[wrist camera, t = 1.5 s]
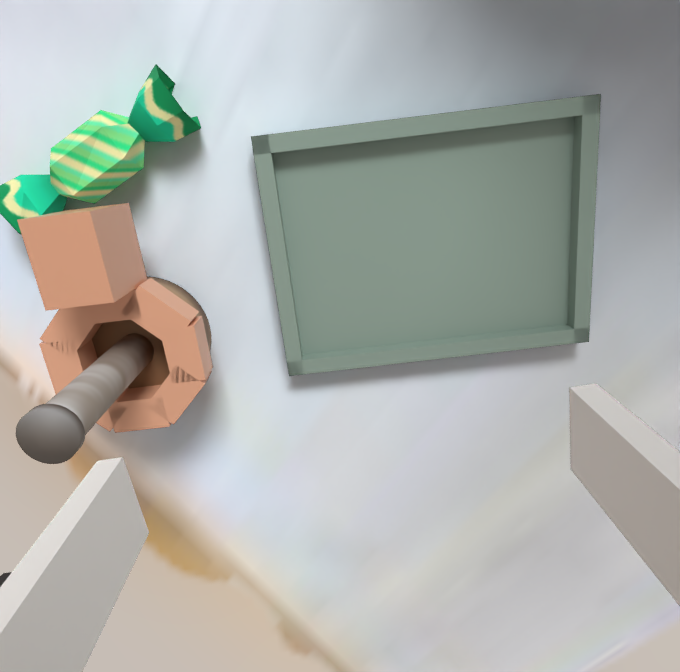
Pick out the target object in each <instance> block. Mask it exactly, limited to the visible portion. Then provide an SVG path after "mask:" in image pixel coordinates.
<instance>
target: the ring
mask: <svg viewBox="0 0 680 672" xmlns="http://www.w3.org/2000/svg"><path fill="white" fill-rule="evenodd" d="M17 221H18V224H19V228H20V231H21V234H22V237H23V240H24V243H25V247H26V250H27V253H28V256H29V259H30V262H31V266H32V269H33V272H34V275H35V278H36V281H37V285H38V288H39V291H40V294H41V297H42V300H43V304H44V307H45V310H54V309H59V310H58V312H57V313H56V315H55V316H54V318H53V319H52V321H51V322H50V324H49V326H48V327H47V329H46V330H45V332H44V333H43V335H42V336H41V338H40V339H41V340H42V341H43V342H41V343H40V347H41V350H42V354H43V357H44V360H45V363H46V366H47V369H48V372H49V375H50V378H51V381H52V384H53V387H54V390H55V393H56V394H58V393H59V392H60V391H61V390H62V389H63V388H64V387H66V386H67V385H68V384H69V383H70V382H71V381H73V380H74V379H75V378H76V377H77V376H78V375H80V374H81V373H82V372H83V371H84V370H85V369H87V368H88V367H89V366H90V365H91V364H92V363H94V362H95V361H96V360H97V359H98V358H97V355H96V352H95V348H94V345H93V341H92V338H93V337H94V335H95V334H96V332H97V331H98V329H99V328H100V326H101V325H102V323H105V322H114V321H122V320H132V321H134V322H135V323H137V324H138V325H140V326H141V327H143V328H144V329H146V330H147V331H148V332H150V333H151V334H153V335H154V336H156V337H157V338H159V339H160V340H162V343H163V347H164V351H165V355H166V359H167V363H168V367H169V371H170V374H169V375H168V377H167V378H166V379H165V381H164V382H163V383H162V385H154V386H146V387H137V388H128V387H127V388H126V389H125V391H124V392H123V393H122V394H121V395H120V396H119V397H118V398H117V400H116V401H115V402H114V403H113V404H112V405H111V406H110V407H109V409H108V410H107V411H106V412H105V413H104V414H103V415H102V417H101V418H100V419H99V420H98V421H97V422H96V423H97V424H98V425H100V426H102V427H103V428H105V429H107V430H108V431H111V430H112V429H113V428H114V431H115V433H117V432H126V431H135V430H144V429H153V428H161V427H170V425H171V423H172V424H174V423H175V422H176V421H177V420H178V418H179V417H180V416H181V414H182V413H183V412H184V410H185V409H186V408H187V407H188V405H189V404H190V403H191V401H192V400H193V399H194V398H195V396H196V395H197V394H198V392H199V391H200V390H201V388H202V387H203V386H204V385H205V383H206V381H207V379H208V377H209V376H210V374H211V372H212V371H211V369H212V368H213V365H212V361H211V356H210V351H209V346H208V342H207V337H206V332H205V328H204V323H203V318H202V316H196V315H197V314H198V313H199V311H198V310H196V309H195V308H193V307H192V306H190V305H189V304H188V303H186V302H185V301H183V300H182V299H181V298H179V297H178V296H176V295H175V294H173V293H172V292H171V291H169V290H168V289H166V288H165V287H163V286H162V285H161V284H159V283H158V282H156V281H155V280H154V279H152V278H150V279H148V280H147V276H146V272H145V267H144V263H143V259H142V255H141V251H140V247H139V243H138V239H137V235H136V230H135V226H134V222H133V218H132V214H131V210H130V206H129V203H123V204H115V205H107V206H98V207H90V208H82V209H74V210H66V211H61V212H56V213H50V214H45V215H40V216H35V217H29V218H24V219H19V220H17Z"/></svg>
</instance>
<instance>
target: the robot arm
mask: <svg viewBox="0 0 680 672" xmlns="http://www.w3.org/2000/svg"><path fill="white" fill-rule="evenodd" d="M569 402H570V464H571V470H572V471H573V473H574V474H575V475H576V476H577V478H578V479H579V480H580V481H581V483H582V484H583V485H584V486H585V488H586V489H587V490H588V492H589V493H590V494H591V495H592V497H593V498H594V499H595V500H596V502H597V503H598V504H599V505H600V507H601V508H602V509H603V510H604V512H605V513H606V514H607V515H608V517H609V518H610V519H611V520H612V522H613V523H614V524H615V525H616V527H617V528H618V529H619V530H620V532H621V533H622V534H623V535H624V537H625V538H626V539H627V540H628V542H629V543H630V544H631V546H632V547H633V548H634V549H635V551H636V552H637V553H638V554H639V556H640V557H641V558H642V559H643V561H644V562H645V563H646V564H647V566H648V567H649V568H650V569H651V571H652V572H653V573H654V574H655V576H656V577H657V578H658V579H659V581H660V582H661V583H662V584H663V586H664V587H665V588H666V589H667V591H668V592H669V593H670V594H671V596H672V597H673V598H674V600H675V601H676V602H677V603H678V605H679V606H680V451H678V450H677V449H676V448H675V447H673V446H672V445H671V444H670V443H669V442H667V441H666V440H665V439H664V438H662V437H661V436H660V435H659V434H658V433H656V432H655V431H654V430H653V429H651V428H650V427H649V426H648V425H647V424H645V423H644V422H643V421H642V420H640V419H639V418H638V417H637V416H636V415H634V414H633V413H632V412H631V411H629V410H628V409H627V408H626V407H625V406H623V405H622V404H621V403H620V402H618V401H617V400H616V399H615V398H614V397H612V396H611V395H610V394H609V393H607V392H606V391H605V390H604V389H603V388H601V387H600V386H599V385H598V384H596V383H594V384H587V385H581V386H574V387H569ZM148 534H149V531H148V528H147V526H146V523H145V520H144V517H143V514H142V511H141V508H140V505H139V502H138V500H137V497H136V494H135V491H134V488H133V485H132V482H131V479H130V477H129V474H128V471H127V468H126V465H125V462H124V459H123V457H120V458H113V459H107V460H101V461H97V462H96V463H95V465H94V466H93V467H92V469H91V470H90V471H89V473H88V474H87V475H86V476H85V478H84V479H83V480H82V482H81V483H80V484H79V486H78V487H77V488H76V489H75V491H74V492H73V493H72V495H71V496H70V497H69V499H68V500H67V501H66V502H65V504H64V505H63V506H62V508H61V509H60V510H59V512H58V513H57V514H56V516H55V517H54V518H53V519H52V521H51V522H50V523H49V525H48V526H47V527H46V529H45V530H44V531H43V532H42V534H41V535H40V536H39V538H38V539H37V540H36V542H35V543H34V544H33V545H32V547H31V548H30V549H29V551H28V552H27V553H26V555H25V556H24V557H23V559H22V560H21V561H20V562H19V564H18V565H17V566H16V568H15V569H14V570H13V571H12V572H10V573H4V574H2V575H1V576H0V672H83V669H84V667H85V665H86V663H87V661H88V659H89V657H90V655H91V653H92V651H93V648H94V647H95V644H96V642H97V640H98V638H99V636H100V634H101V632H102V630H103V628H104V626H105V624H106V621H107V620H108V617H109V615H110V613H111V611H112V609H113V607H114V605H115V603H116V601H117V599H118V596H119V594H120V592H121V590H122V588H123V586H124V584H125V582H126V580H127V578H128V576H129V574H130V572H131V569H132V567H133V565H134V563H135V561H136V559H137V557H138V555H139V553H140V551H141V549H142V547H143V544H144V542H145V540H146V538H147V536H148Z"/></svg>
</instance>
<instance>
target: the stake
mask: <svg viewBox="0 0 680 672" xmlns="http://www.w3.org/2000/svg"><path fill="white" fill-rule="evenodd" d="M150 278H152V279H154V280H155V281H156V282H158V283H159V284H161V285H162V286H163V287H165V288H166V289H168V290H169V291H171V292H172V293H173V294H175V295H176V296H178V297H179V298H181V299H182V300H183V301H185V302H186V303H188V304H189V305H190V306H192V307H193V308H195V309H196V310H198V311H199V313H198V314H197V315H196V316H202V318H203V323H204V328H205V332H206V337H207V342H208V346H209V351H210V346H211V331H210V326H209V322H208V319H207V317H206V314H205V313H204V311H203V309H202V307H201V306H200V305H199V303H198V302H197V301H196V300H195V299H194V298H193V297H192V295H191V294H189V293H188V292H187V291H186V290H184V289H183V288H181V287H180V286H178V285H176V284H174V283H172V282H170V281H167V280H164V279H160V278H155V277H147V280H148V279H150ZM92 341H93V345H94V348H95V352H96V355H97V358H98V359H97V360H96V361H95V362H94V363H92V364H91V365H90V366H89V367H88V368H87V369H85V370H84V371H83V372H82V373H81V374H80V375H78V376H77V377H76V378H75V379H74V380H73V381H71V382H70V383H69V384H68V385H67V386H66V387H64V388H63V389H62V390H61V391H60V392H59V393H58V394H56V395H55V396H54V397H53V398H52V399H51V400H49V401H48V402H47V403H46V404H42V405H39V406H36V407H34V408H33V409H32V410H30V411H29V412H28V413H27V414H26V415H25V416H23V417H22V418H21V419H20V421H19V422H18V424H17V427H16V438H17V441H18V444H19V445H20V447H21V448H22V450H23V451H24V452H25V453H26V454H27V455H28V456H30V457H31V458H33V459H35V460H37V461H40V462H42V463H47V464H58V463H62V462H65V461H67V460H69V459H70V458H71V457H72V456H73V455H74V454H75V453H76V452H77V451H78V450H79V448H80V447H81V446H82V444H83V442H84V439H85V435H86V433H87V432H88V431H89V430H90V429H91V428H92V427H93V426H94V424H95V423H96V422H97V421H98V420H99V419H100V418H101V417H102V415H103V414H104V413H105V412H106V411H107V410H108V409H109V407H110V406H111V405H112V404H113V403H114V402H115V401H116V400H117V398H118V397H119V396H120V395H121V394H122V393H123V392H124V391H125V389H126V388H127V387H128V388H137V387H146V386H154V385H162V383H163V382H164V381H165V379H166V378H167V377H168V375H169V374H170V371H169V367H168V363H167V359H166V355H165V351H164V347H163V343H162V340H160V339H159V338H157V337H156V336H154V335H153V334H151V333H150V332H148V331H147V330H146V329H144V328H143V327H141V326H140V325H138V324H137V323H135V322H134V321H132V320H122V321H114V322H105V323H102V325H101V326H100V328H99V329H98V331H97V332H96V334H95V335H94V337H93V338H92Z"/></svg>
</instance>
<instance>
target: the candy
mask: <svg viewBox="0 0 680 672" xmlns="http://www.w3.org/2000/svg"><path fill="white" fill-rule="evenodd" d="M174 85H175V83H174V82H173V81H172V80H171V79H170V78H169V77H168V76H167V75H166V74H165V73H164V72H163V71H162V70H161V69H160V68H159V67H158V66H157V65H155V66H154V68H153V70H152V71H151V73H150V75H149V76H148V78H147V80H146V81H145V83H144V85H143V86H142V88H141V90H140V91H139V93H138V96H137V98H136V101H135V104H134V106H133V109H132V111H131V114H130V117H125V116H121V115H117V114H113V113H110V112H106V111H102V110H100V111H99V112H98V113H97V114H95V115H94V116H93V117H91V118H90V119H89V120H87V121H86V122H85V123H84V124H82V125H81V126H80V127H78V128H77V129H76V130H75V131H73V132H72V133H71V134H69V135H68V136H67V137H65V138H64V139H63V140H62V141H60V142H59V143H58V144H56V145H55V146H54V147H52V148H51V157H50V175H20V176H18V177H16V178H14V179H12V180H10V181H8V182H6V183H4V184H2V185H0V214H1V215H2V216H3V217H4V218H5V219H6V220H7V221H8V222H9V223H10V224H11V225H12V226H13V228H14V229H15V230H16V231H17V232H18V233H19V234H21V231H20V228H19V224H18V221H17V220H19V219H24V218H29V217H35V216H40V215H45V214H50V213H56V212H61V211H63V210H64V207H65V204H66V201H67V198H68V197H69V198H73V199H77V200H81V201H85V202H90V203H94V204H95V203H96V202H98V201H99V200H100V199H102V198H103V197H104V196H106V195H107V194H109V193H110V192H111V191H113V190H114V189H115V188H117V187H118V186H119V185H121V184H122V183H123V182H125V181H126V180H128V179H129V178H130V177H132V176H133V175H134V174H136V173H137V172H138V171H140V170H141V169H143V166H144V148H145V142H175V141H177V140H179V139H181V138H183V137H185V136H187V135H189V134H191V133H193V132H195V131H196V130H198V129H200V128H201V126H200V123H199V120H198V117H193V118H190V117H189V116H188V115H187V114H186V113H185V112H184V111H183V110H182V108H181V107H180V105H179V104H178V103H177V101H176V100H175V98H174V97H173V96H172V91H173V88H174Z"/></svg>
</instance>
